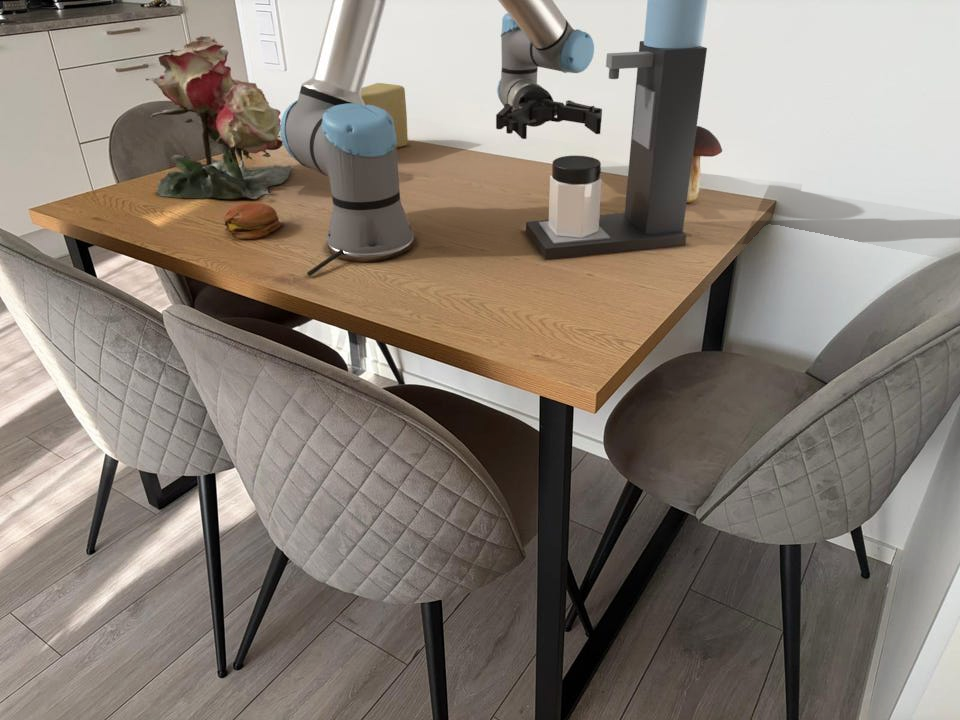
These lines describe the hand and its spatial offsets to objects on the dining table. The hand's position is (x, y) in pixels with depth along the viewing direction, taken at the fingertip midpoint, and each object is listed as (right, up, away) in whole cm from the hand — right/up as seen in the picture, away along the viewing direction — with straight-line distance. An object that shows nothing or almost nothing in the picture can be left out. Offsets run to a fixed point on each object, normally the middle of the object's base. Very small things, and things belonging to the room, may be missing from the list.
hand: (562, 128), depth 129 cm
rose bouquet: (-69, -1, +36) cm, 78 cm away
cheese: (-43, +11, +53) cm, 69 cm away
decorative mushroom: (+27, -9, +18) cm, 34 cm away
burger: (-57, -17, +9) cm, 60 cm away
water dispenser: (+8, -19, +3) cm, 21 cm away
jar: (+2, -18, +1) cm, 18 cm away
